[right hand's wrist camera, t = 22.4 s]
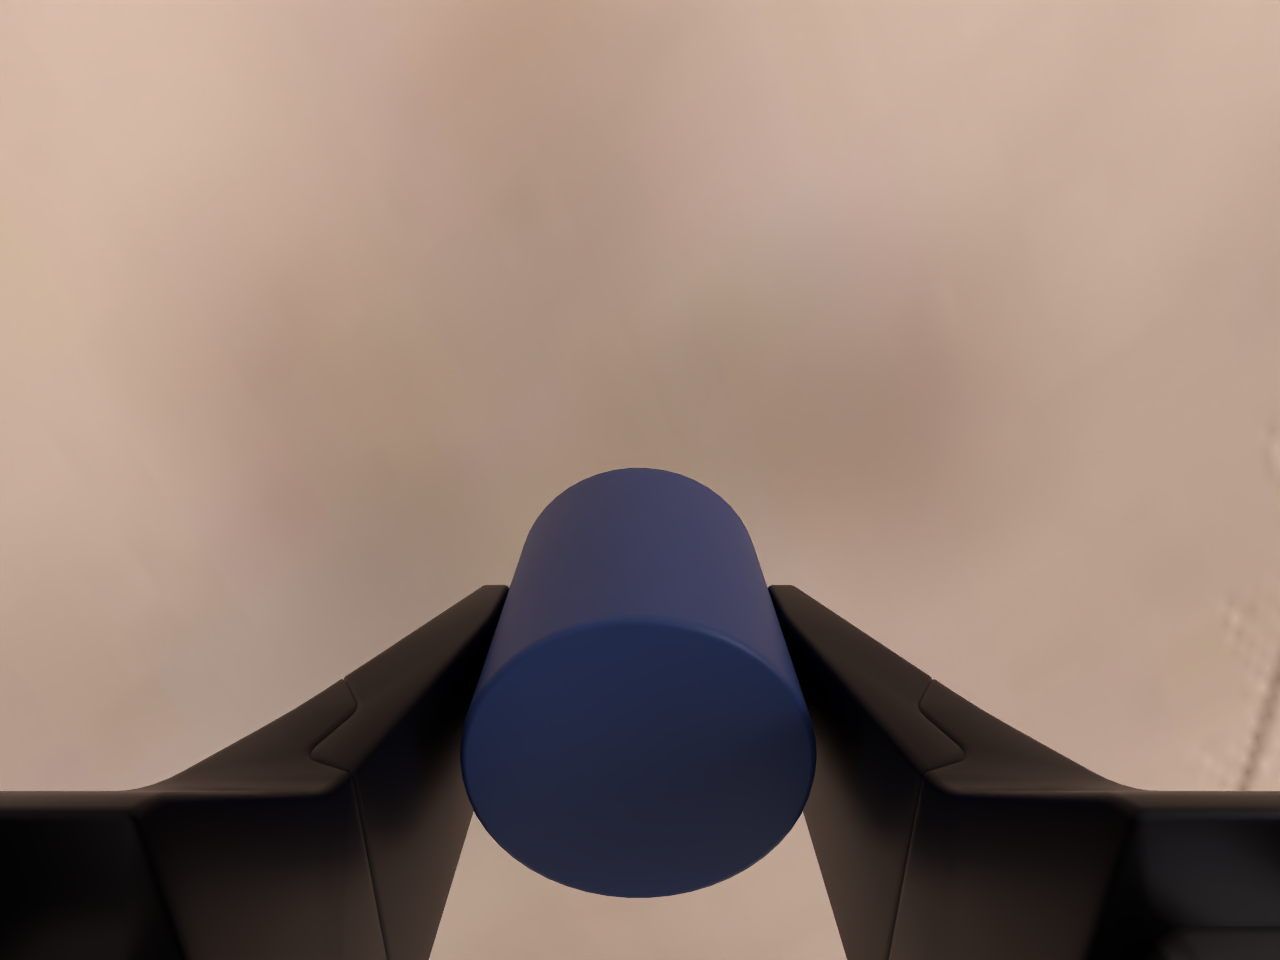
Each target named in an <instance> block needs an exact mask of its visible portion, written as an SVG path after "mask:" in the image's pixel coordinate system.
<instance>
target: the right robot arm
mask: <svg viewBox="0 0 1280 960" xmlns="http://www.w3.org/2000/svg"><path fill="white" fill-rule="evenodd" d="M768 591H769V594H770V597H771V600H772V603H773V606H774V609H775V612H776V615H777V618H778V621H779V624H780V627H781V630H782V633H783V636H784V639H785V642H786V645H787V648H788V651H789V654H790V657H791V660H792V663H793V666H794V669H795V672H796V675H797V678H798V681H799V684H800V687H801V690H802V693H803V696H804V699H805V702H806V705H807V708H808V711H809V714H810V717H811V720H812V724H813V729H814V733H815V737H816V751H817V760H816V769H815V777H814V781H813V784H812V788H811V791H810V795H809V798H808V800H807V802H806V805H805V807H804V809H803V813H804V816H805V820H806V823H807V826H808V830H809V833H810V836H811V840H812V843H813V846H814V850H815V853H816V856H817V860H818V863H819V866H820V870H821V873H822V877H823V880H824V883H825V887H826V890H827V893H828V897H829V900H830V903H831V907H832V910H833V913H834V917H835V920H836V923H837V927H838V930H839V933H840V937H841V940H842V944H843V947H844V950H845V954H846V957H847V960H1280V791H1148V790H1142V789H1136V788H1132V787H1128V786H1125V785H1121V784H1119V783H1116V782H1113V781H1111V780H1108V779H1106V778H1104V777H1102V776H1100V775H1098V774H1096V773H1094V772H1092V771H1090V770H1088V769H1086V768H1085V767H1083V766H1081V765H1079V764H1077V763H1076V762H1074V761H1072V760H1070V759H1068V758H1067V757H1065V756H1063V755H1061V754H1059V753H1058V752H1056V751H1054V750H1052V749H1050V748H1049V747H1047V746H1045V745H1043V744H1042V743H1040V742H1038V741H1036V740H1034V739H1033V738H1031V737H1029V736H1027V735H1025V734H1024V733H1022V732H1020V731H1018V730H1016V729H1015V728H1013V727H1011V726H1009V725H1008V724H1006V723H1004V722H1002V721H1001V720H999V719H997V718H995V717H994V716H992V715H990V714H988V713H987V712H985V711H983V710H982V709H980V708H978V707H977V706H975V705H974V704H972V703H970V702H969V701H967V700H966V699H964V698H962V697H961V696H959V695H958V694H956V693H955V692H953V691H952V690H950V689H949V688H947V687H946V686H944V685H943V684H941V683H940V682H938V681H937V680H934V679H933V680H932V678H931V677H930V676H929V675H927V674H926V673H924V672H923V671H921V670H920V669H918V668H917V667H915V666H914V665H912V664H911V663H909V662H908V661H906V660H905V659H903V658H902V657H900V656H899V655H897V654H896V653H894V652H893V651H891V650H890V649H888V648H887V647H885V646H884V645H882V644H881V643H879V642H878V641H876V640H875V639H873V638H872V637H870V636H869V635H867V634H866V633H864V632H862V631H861V630H859V629H858V628H856V627H855V626H853V625H852V624H850V623H849V622H847V621H846V620H844V619H843V618H841V617H840V616H838V615H837V614H835V613H834V612H832V611H831V610H829V609H828V608H826V607H825V606H823V605H822V604H820V603H819V602H817V601H816V600H814V599H813V598H811V597H810V596H808V595H807V594H805V593H804V592H802V591H801V590H799V589H798V588H796V587H795V586H792V585H771V586H769V587H768ZM508 592H509V587H508V586H506V585H485V586H482V587H481V588H479V589H478V590H476V591H475V592H473V593H472V594H470V595H469V596H467V597H466V598H464V599H463V600H461V601H459V602H458V603H456V604H455V605H453V606H452V607H450V608H449V609H447V610H446V611H444V612H443V613H441V614H440V615H438V616H437V617H435V618H434V619H432V620H431V621H429V622H428V623H426V624H425V625H423V626H422V627H420V628H419V629H417V630H415V631H414V632H412V633H411V634H409V635H408V636H406V637H405V638H403V639H402V640H400V641H399V642H397V643H396V644H394V645H393V646H391V647H390V648H388V649H387V650H385V651H384V652H382V653H381V654H379V655H378V656H376V657H374V658H373V659H371V660H370V661H368V662H367V663H365V664H364V665H362V666H361V667H359V668H358V669H356V670H355V671H353V672H352V673H350V674H349V675H347V676H346V677H345V678H344V680H343V679H341V680H339V681H338V682H336V683H335V684H333V685H332V686H330V687H329V688H327V689H326V690H324V691H323V692H321V693H319V694H318V695H316V696H315V697H313V698H312V699H310V700H308V701H307V702H305V703H304V704H302V705H300V706H299V707H297V708H296V709H294V710H292V711H290V712H289V713H287V714H285V715H283V716H282V717H280V718H278V719H276V720H275V721H273V722H271V723H269V724H268V725H266V726H264V727H262V728H261V729H259V730H257V731H255V732H253V733H252V734H250V735H248V736H246V737H244V738H243V739H241V740H239V741H237V742H235V743H234V744H232V745H230V746H228V747H226V748H224V749H223V750H221V751H219V752H217V753H215V754H214V755H212V756H210V757H208V758H206V759H205V760H203V761H201V762H199V763H197V764H196V765H194V766H192V767H190V768H188V769H187V770H185V771H183V772H181V773H179V774H177V775H175V776H173V777H171V778H169V779H166V780H164V781H161V782H159V783H156V784H153V785H150V786H146V787H142V788H139V789H132V790H126V791H0V960H429V957H430V953H431V950H432V947H433V943H434V940H435V937H436V934H437V930H438V927H439V924H440V920H441V917H442V914H443V910H444V907H445V904H446V900H447V897H448V894H449V891H450V887H451V884H452V881H453V877H454V874H455V871H456V867H457V864H458V861H459V857H460V854H461V851H462V848H463V844H464V841H465V838H466V834H467V831H468V828H469V824H470V821H471V818H472V814H473V811H474V810H473V807H472V805H471V803H470V801H469V799H468V796H467V792H466V789H465V785H464V782H463V778H462V771H461V763H460V746H461V737H462V732H463V727H464V723H465V719H466V716H467V713H468V710H469V707H470V704H471V702H472V699H473V696H474V693H475V690H476V687H477V684H478V681H479V678H480V675H481V672H482V669H483V666H484V663H485V660H486V657H487V654H488V651H489V648H490V645H491V642H492V639H493V636H494V633H495V630H496V627H497V624H498V621H499V618H500V615H501V612H502V609H503V606H504V603H505V601H506V598H507V595H508Z"/></svg>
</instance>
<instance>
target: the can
mask: <svg viewBox="0 0 1280 960" xmlns="http://www.w3.org/2000/svg"><path fill="white" fill-rule="evenodd" d="M816 760H817V751H816V737H815V733H814V729H813V724H812V720H811V717H810V714H809V711H808V708H807V705H806V702H805V699H804V696H803V693H802V690H801V687H800V684H799V681H798V678H797V675H796V672H795V669H794V666H793V663H792V660H791V657H790V654H789V651H788V648H787V645H786V642H785V639H784V636H783V633H782V630H781V627H780V624H779V621H778V618H777V615H776V612H775V609H774V606H773V603H772V600H771V597H770V594H769V591H768V588H767V585H766V582H765V579H764V576H763V573H762V570H761V567H760V564H759V561H758V558H757V555H756V552H755V549H754V546H753V543H752V541H751V538H750V536H749V533H748V531H747V529H746V527H745V526H744V524H743V522H742V521H741V519H740V518H739V516H738V515H737V514H736V513H735V511H734V510H733V509H732V507H731V506H730V505H729V504H727V503H726V502H725V501H724V500H723V499H722V498H721V497H720V496H719V495H717V494H716V493H715V492H713V491H712V490H711V489H709V488H708V487H706V486H704V485H702V484H700V483H699V482H697V481H695V480H693V479H690V478H688V477H685V476H682V475H680V474H676V473H672V472H668V471H664V470H658V469H649V468H628V469H620V470H613V471H609V472H605V473H601V474H597V475H595V476H592V477H590V478H587V479H585V480H582V481H580V482H579V483H577V484H575V485H573V486H571V487H570V488H568V489H567V490H565V491H564V492H563V493H561V494H560V495H559V496H557V497H556V498H555V499H554V500H553V501H552V502H551V503H550V504H549V505H548V506H547V507H546V508H545V509H544V510H543V512H542V513H541V514H540V515H539V517H538V518H537V519H536V521H535V523H534V525H533V526H532V528H531V530H530V532H529V534H528V537H527V539H526V542H525V544H524V547H523V550H522V553H521V556H520V559H519V562H518V565H517V568H516V571H515V574H514V577H513V580H512V583H511V586H510V589H509V592H508V595H507V598H506V601H505V603H504V606H503V609H502V612H501V615H500V618H499V621H498V624H497V627H496V630H495V633H494V636H493V639H492V642H491V645H490V648H489V651H488V654H487V657H486V660H485V663H484V666H483V669H482V672H481V675H480V678H479V681H478V684H477V687H476V690H475V693H474V696H473V699H472V702H471V704H470V707H469V710H468V713H467V716H466V719H465V723H464V727H463V732H462V737H461V746H460V763H461V771H462V778H463V782H464V785H465V789H466V792H467V796H468V799H469V801H470V803H471V805H472V807H473V810H474V812H475V814H476V816H477V817H478V819H479V820H480V822H481V823H482V825H483V826H484V828H485V829H486V831H487V832H488V833H489V834H490V835H491V836H492V838H493V839H494V840H495V841H496V842H497V843H498V844H499V845H500V846H501V847H502V848H503V849H504V850H505V851H507V852H508V853H509V854H510V855H511V856H512V857H513V858H515V859H516V860H518V861H519V862H521V863H522V864H523V865H525V866H526V867H528V868H529V869H531V870H533V871H535V872H537V873H539V874H540V875H542V876H544V877H546V878H548V879H550V880H553V881H555V882H558V883H560V884H563V885H565V886H568V887H572V888H575V889H579V890H582V891H585V892H590V893H595V894H601V895H606V896H615V897H626V898H651V897H661V896H671V895H676V894H681V893H686V892H692V891H695V890H698V889H702V888H705V887H708V886H712V885H714V884H716V883H719V882H721V881H724V880H726V879H729V878H731V877H733V876H734V875H736V874H738V873H740V872H742V871H744V870H746V869H747V868H749V867H750V866H752V865H753V864H755V863H756V862H758V861H759V860H760V859H762V858H763V857H765V856H766V855H767V854H768V853H769V852H770V851H771V850H772V849H774V848H775V847H776V846H777V845H778V844H779V843H780V842H781V841H782V839H783V838H784V837H785V836H786V835H787V834H788V833H789V831H790V830H791V829H792V827H793V826H794V824H795V823H796V821H797V820H798V818H799V817H800V815H801V813H802V811H803V809H804V807H805V805H806V802H807V800H808V798H809V795H810V791H811V788H812V784H813V781H814V777H815V769H816Z"/></svg>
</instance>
